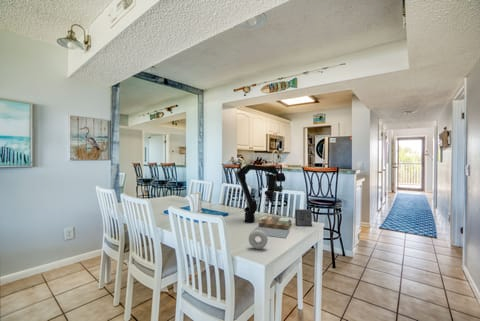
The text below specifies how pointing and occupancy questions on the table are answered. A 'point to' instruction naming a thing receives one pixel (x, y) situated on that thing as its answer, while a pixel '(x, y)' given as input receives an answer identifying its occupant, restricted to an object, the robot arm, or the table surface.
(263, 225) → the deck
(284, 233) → the mat
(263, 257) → the table surface
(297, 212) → the small box
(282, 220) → the sage tile
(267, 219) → the maple tile
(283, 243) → the table surface
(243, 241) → the table surface
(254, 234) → the donut
